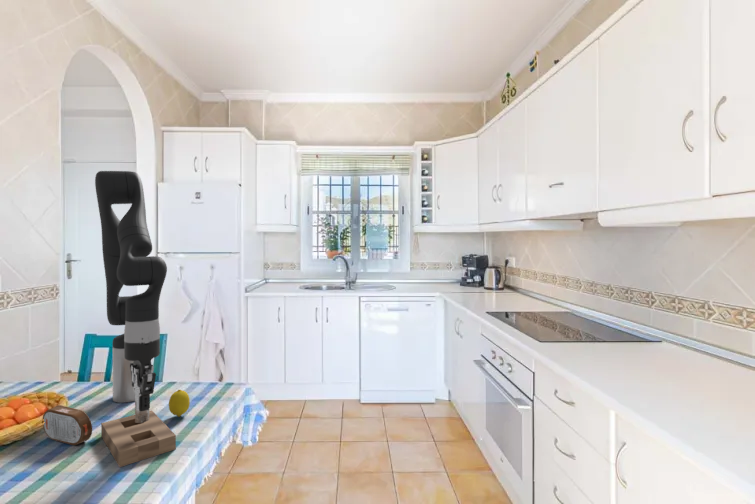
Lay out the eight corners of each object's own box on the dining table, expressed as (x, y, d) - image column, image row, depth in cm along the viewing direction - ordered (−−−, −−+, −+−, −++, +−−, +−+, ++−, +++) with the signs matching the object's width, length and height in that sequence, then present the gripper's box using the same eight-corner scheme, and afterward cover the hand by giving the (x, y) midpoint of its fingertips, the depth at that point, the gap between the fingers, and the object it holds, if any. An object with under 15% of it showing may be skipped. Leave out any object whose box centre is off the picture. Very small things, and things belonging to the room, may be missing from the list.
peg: (133, 420, 99) (133, 379, 99) (147, 416, 102) (147, 377, 101) (136, 424, 97) (136, 382, 97) (150, 420, 99) (150, 379, 99)
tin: (93, 443, 103) (93, 410, 103) (80, 449, 100) (80, 415, 100) (53, 433, 108) (52, 402, 107) (39, 439, 105) (39, 406, 104)
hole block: (101, 436, 106) (101, 423, 106) (151, 422, 115) (151, 410, 115) (119, 467, 92) (119, 452, 92) (175, 449, 100) (175, 435, 100)
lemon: (181, 421, 116) (181, 393, 115) (164, 419, 117) (164, 392, 116) (193, 413, 121) (193, 387, 121) (177, 411, 122) (177, 385, 122)
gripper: (117, 335, 102) (117, 403, 102) (132, 345, 91) (132, 421, 92) (151, 331, 107) (151, 396, 107) (168, 340, 97) (168, 412, 97)
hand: (142, 407), depth 99 cm, fingers closed on peg, 3 cm apart
